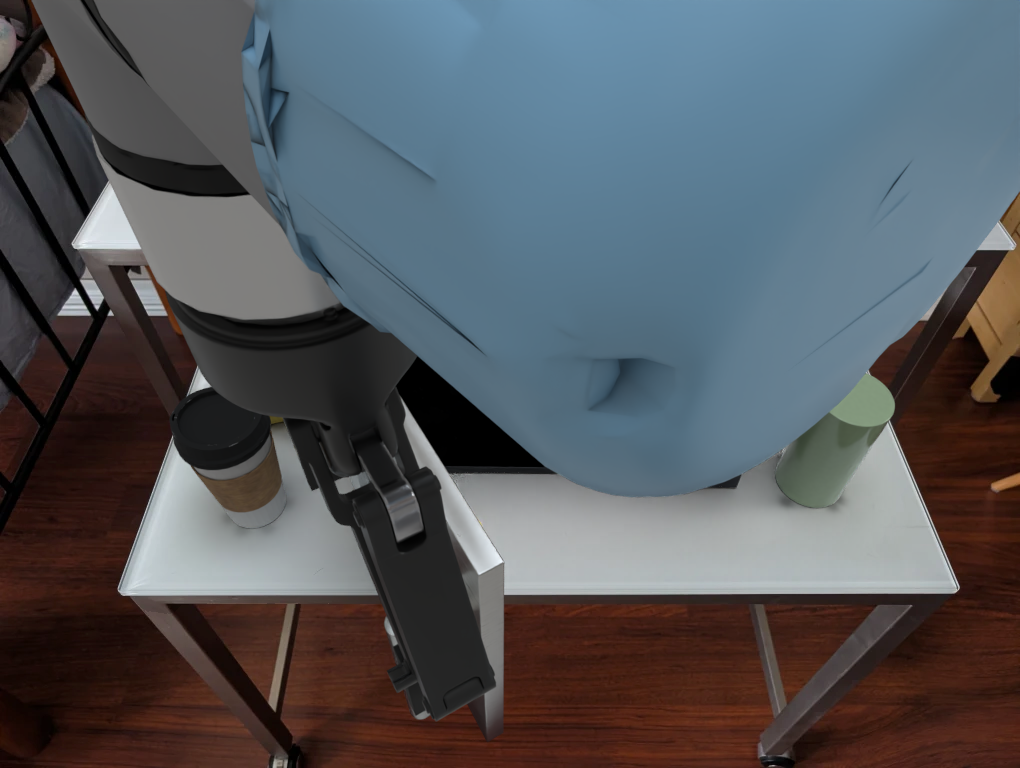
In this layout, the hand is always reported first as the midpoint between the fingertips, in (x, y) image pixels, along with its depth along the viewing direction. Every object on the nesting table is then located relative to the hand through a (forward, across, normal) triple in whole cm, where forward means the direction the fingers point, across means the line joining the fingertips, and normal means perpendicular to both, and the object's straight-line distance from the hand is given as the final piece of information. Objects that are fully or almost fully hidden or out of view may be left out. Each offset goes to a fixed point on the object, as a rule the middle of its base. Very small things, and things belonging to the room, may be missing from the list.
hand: (380, 574), depth 38 cm
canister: (+32, +4, -47) cm, 57 cm away
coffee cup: (+32, +30, +5) cm, 44 cm away
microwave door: (+32, +13, -3) cm, 34 cm away
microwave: (+32, +26, -27) cm, 49 cm away
